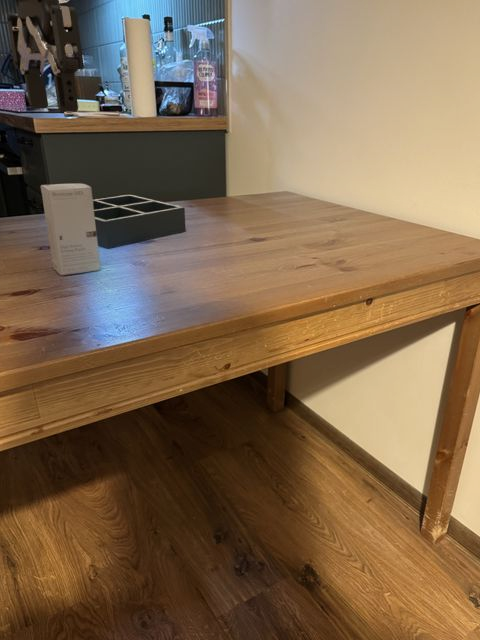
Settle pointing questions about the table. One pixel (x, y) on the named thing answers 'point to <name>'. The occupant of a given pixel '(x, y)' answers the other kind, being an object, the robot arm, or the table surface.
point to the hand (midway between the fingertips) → (53, 109)
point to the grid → (135, 220)
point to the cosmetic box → (71, 227)
